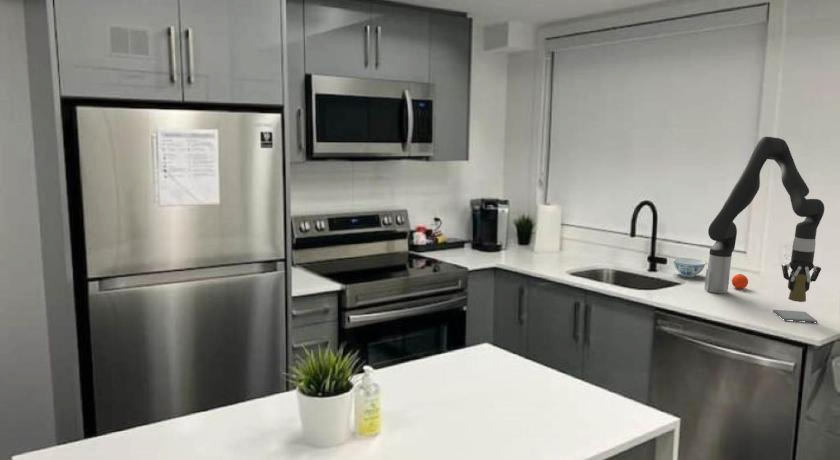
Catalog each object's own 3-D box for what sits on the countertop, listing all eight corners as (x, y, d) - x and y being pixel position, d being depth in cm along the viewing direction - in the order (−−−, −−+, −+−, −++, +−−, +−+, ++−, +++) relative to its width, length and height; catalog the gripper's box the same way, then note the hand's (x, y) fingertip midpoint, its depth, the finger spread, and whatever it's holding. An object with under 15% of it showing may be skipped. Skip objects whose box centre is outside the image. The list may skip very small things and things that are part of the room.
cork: (808, 302, 239) (811, 275, 237) (791, 301, 241) (795, 274, 239) (802, 298, 245) (805, 271, 243) (785, 297, 246) (789, 270, 244)
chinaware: (683, 270, 319) (684, 256, 317) (710, 277, 307) (711, 262, 305) (665, 274, 311) (667, 259, 309) (692, 281, 298) (694, 265, 297)
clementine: (733, 285, 292) (735, 271, 290) (749, 288, 287) (751, 273, 286) (729, 288, 286) (730, 274, 284) (745, 291, 281) (747, 276, 280)
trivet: (783, 321, 240) (783, 318, 240) (772, 311, 251) (773, 309, 251) (817, 323, 237) (817, 320, 237) (804, 314, 249) (805, 311, 249)
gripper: (787, 249, 237) (781, 291, 240) (827, 252, 234) (822, 294, 237) (780, 246, 244) (775, 286, 247) (819, 248, 241) (813, 289, 244)
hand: (798, 290), depth 242 cm, fingers closed on cork, 4 cm apart
